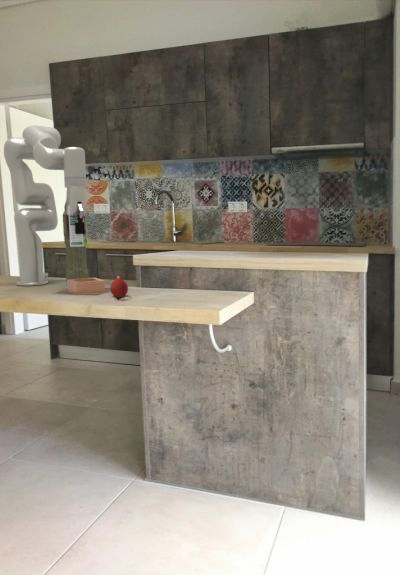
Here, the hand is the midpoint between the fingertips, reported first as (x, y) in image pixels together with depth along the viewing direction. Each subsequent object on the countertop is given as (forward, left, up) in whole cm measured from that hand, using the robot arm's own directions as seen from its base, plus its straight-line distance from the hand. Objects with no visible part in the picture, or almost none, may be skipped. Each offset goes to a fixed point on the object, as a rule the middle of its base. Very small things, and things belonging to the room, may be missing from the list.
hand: (77, 233), depth 192 cm
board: (0, +2, -22) cm, 22 cm away
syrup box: (0, 0, -5) cm, 5 cm away
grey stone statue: (-18, -11, -22) cm, 31 cm away
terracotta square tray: (0, +2, -21) cm, 21 cm away
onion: (+9, +19, -22) cm, 31 cm away
